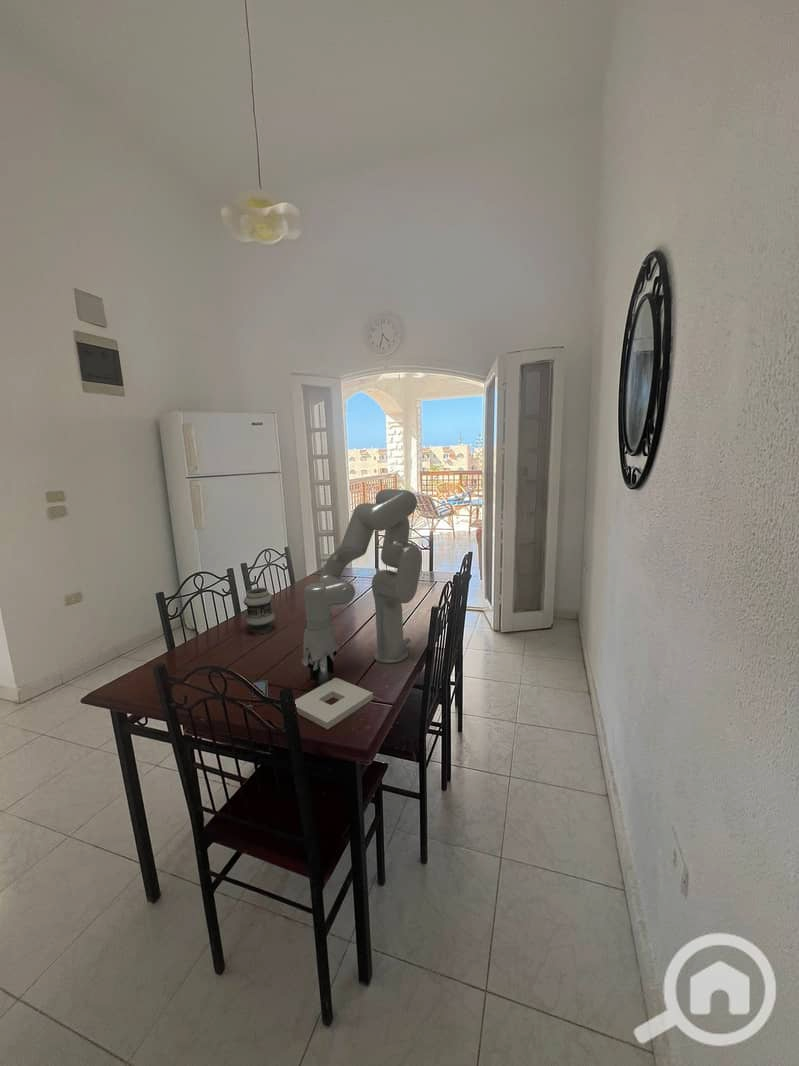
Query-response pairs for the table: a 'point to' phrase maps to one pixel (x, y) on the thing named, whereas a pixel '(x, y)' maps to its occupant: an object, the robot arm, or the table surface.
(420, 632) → the table surface
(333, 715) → the socket plate
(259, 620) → the apothecary jar
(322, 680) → the peg
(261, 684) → the smartphone
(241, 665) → the table surface
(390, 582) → the robot arm
